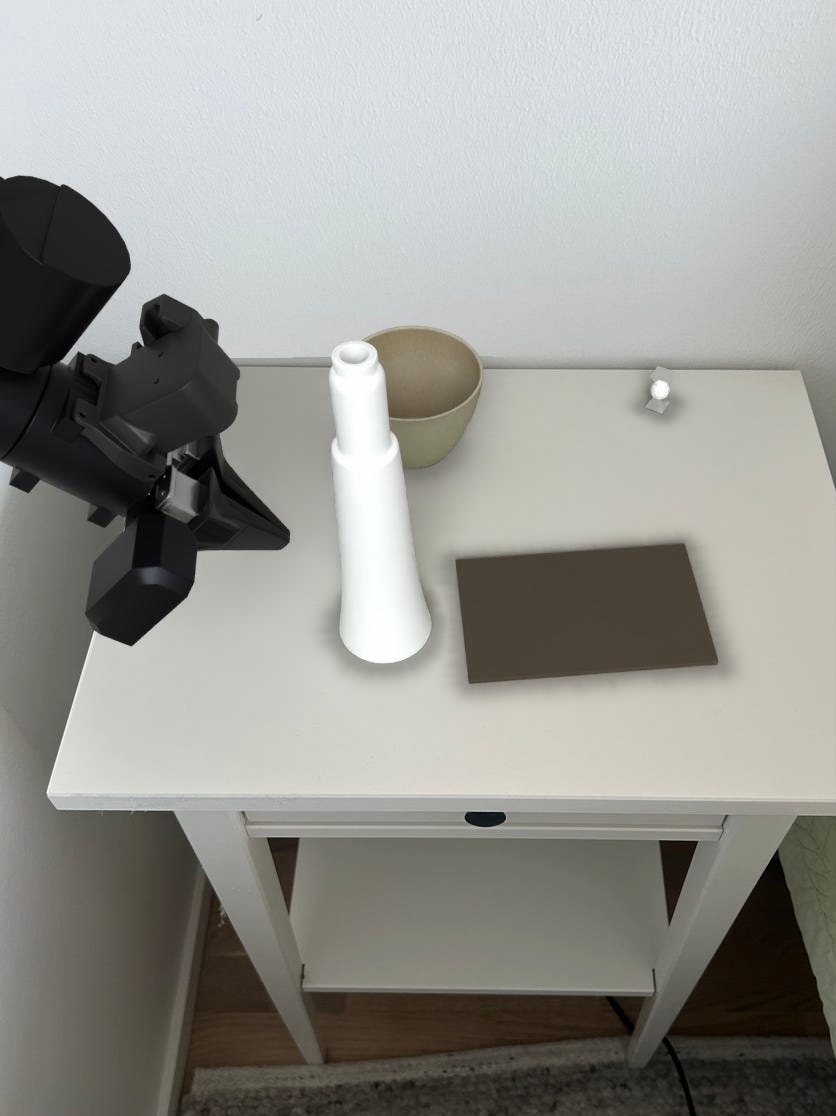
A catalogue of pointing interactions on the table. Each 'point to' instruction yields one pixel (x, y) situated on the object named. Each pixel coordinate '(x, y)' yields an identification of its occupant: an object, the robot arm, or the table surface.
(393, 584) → the cosmetic bottle
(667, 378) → the wrapped candy
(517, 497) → the table surface
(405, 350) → the bowl
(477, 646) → the mat
